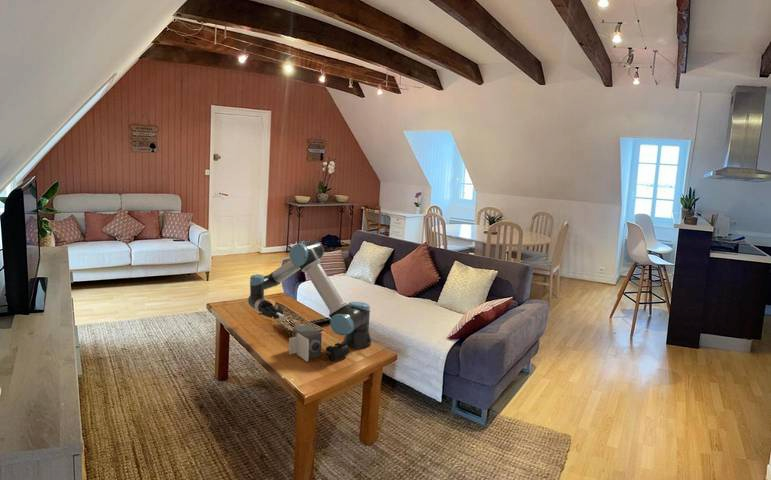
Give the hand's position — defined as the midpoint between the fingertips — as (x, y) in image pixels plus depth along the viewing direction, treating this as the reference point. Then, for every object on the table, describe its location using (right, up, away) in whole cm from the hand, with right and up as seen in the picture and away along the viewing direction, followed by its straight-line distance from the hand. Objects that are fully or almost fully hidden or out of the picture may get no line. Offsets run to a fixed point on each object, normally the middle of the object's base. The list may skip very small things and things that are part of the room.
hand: (283, 318), depth 253 cm
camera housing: (+13, -18, 0) cm, 22 cm away
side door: (+10, -19, -9) cm, 23 cm away
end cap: (+28, -20, -5) cm, 35 cm away
